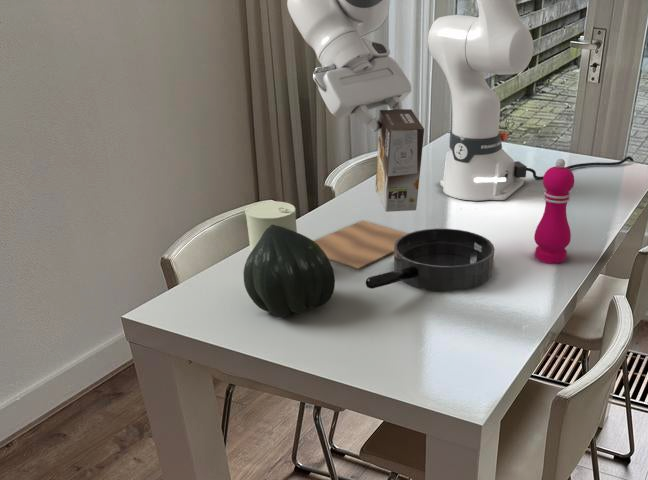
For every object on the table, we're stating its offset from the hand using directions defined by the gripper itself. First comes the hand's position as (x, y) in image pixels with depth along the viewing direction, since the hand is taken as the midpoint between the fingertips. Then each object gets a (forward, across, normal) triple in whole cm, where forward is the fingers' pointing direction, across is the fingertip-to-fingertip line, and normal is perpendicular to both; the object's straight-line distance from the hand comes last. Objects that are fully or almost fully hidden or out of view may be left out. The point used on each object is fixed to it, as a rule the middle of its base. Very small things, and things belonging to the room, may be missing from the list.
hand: (390, 125), depth 141 cm
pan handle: (+25, -16, +7) cm, 31 cm away
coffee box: (+11, 0, +9) cm, 14 cm away
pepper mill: (+36, +19, 0) cm, 41 cm away
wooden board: (+12, 0, +24) cm, 27 cm away
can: (+9, -19, +27) cm, 34 cm away
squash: (+19, -29, +17) cm, 39 cm away
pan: (+27, 0, +9) cm, 28 cm away
